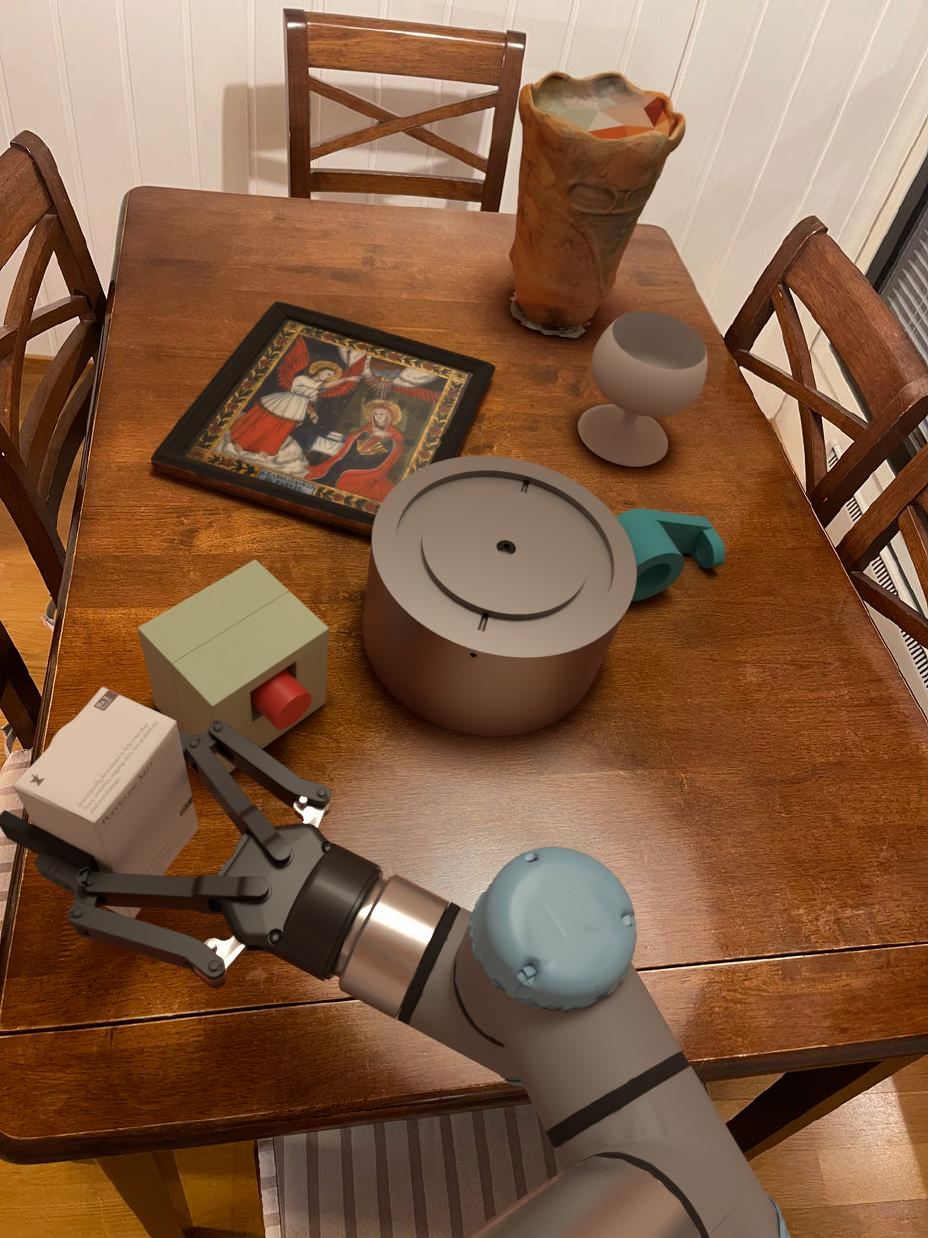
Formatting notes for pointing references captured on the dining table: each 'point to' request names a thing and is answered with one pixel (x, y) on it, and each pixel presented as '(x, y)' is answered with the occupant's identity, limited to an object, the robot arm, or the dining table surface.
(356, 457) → the framed painting
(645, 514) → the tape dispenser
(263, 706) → the button
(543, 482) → the container
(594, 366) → the chalice
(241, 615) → the box
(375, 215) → the dining table surface
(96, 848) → the cosmetic box
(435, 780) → the dining table surface
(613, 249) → the vase
